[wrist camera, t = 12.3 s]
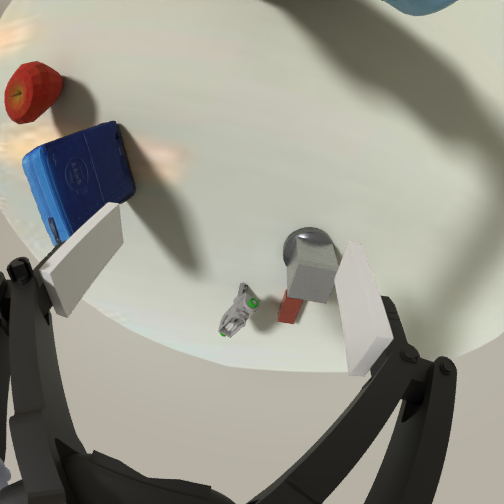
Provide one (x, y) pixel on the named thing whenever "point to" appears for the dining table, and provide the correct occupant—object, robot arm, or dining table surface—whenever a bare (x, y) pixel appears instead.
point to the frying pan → (288, 304)
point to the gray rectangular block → (311, 270)
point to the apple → (31, 91)
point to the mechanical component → (238, 312)
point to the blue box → (78, 177)
